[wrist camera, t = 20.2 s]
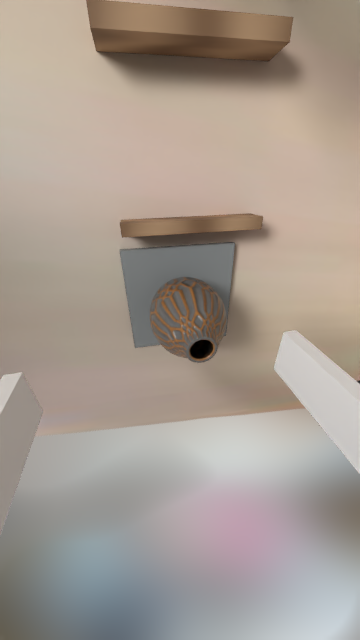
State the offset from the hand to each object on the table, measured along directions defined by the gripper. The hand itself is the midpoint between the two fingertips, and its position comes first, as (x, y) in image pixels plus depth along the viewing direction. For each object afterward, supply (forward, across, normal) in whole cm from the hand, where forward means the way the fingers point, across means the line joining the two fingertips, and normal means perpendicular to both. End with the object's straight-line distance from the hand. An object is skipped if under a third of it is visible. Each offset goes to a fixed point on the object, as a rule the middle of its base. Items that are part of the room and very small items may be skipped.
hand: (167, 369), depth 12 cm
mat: (+13, +4, -2) cm, 14 cm away
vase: (+13, +3, -2) cm, 13 cm away
